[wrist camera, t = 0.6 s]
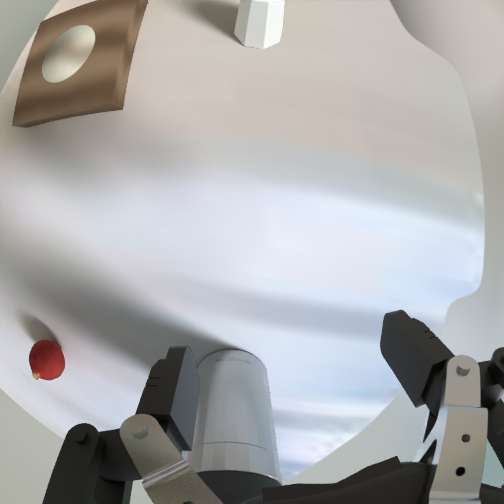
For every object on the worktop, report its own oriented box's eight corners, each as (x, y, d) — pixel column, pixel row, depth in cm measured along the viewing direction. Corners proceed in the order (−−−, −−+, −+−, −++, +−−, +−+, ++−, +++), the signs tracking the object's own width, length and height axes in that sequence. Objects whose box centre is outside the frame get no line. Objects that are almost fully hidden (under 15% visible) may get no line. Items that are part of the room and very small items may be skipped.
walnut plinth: (122, 109, 24) (110, 103, 21) (26, 127, 23) (11, 125, 20) (148, 1, 20) (140, -12, 17) (51, 28, 19) (40, 21, 16)
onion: (46, 352, 32) (21, 380, 24) (43, 324, 31) (14, 351, 23) (74, 367, 33) (51, 399, 25) (72, 340, 31) (46, 371, 24)
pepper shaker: (276, 13, 22) (291, -45, 11) (287, 47, 23) (309, -8, 12) (229, 18, 22) (226, -42, 11) (238, 53, 23) (237, -5, 13)
